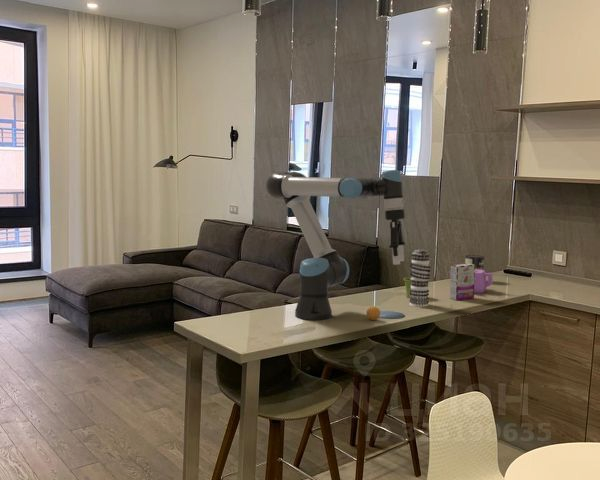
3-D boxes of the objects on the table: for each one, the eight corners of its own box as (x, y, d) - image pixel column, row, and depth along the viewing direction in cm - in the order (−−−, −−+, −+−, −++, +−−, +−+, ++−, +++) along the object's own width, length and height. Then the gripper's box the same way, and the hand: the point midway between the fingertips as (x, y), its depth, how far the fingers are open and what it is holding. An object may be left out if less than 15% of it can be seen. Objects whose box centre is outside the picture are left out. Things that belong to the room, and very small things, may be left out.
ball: (363, 320, 246) (363, 306, 245) (371, 317, 250) (371, 304, 249) (375, 322, 242) (375, 308, 242) (382, 320, 246) (383, 306, 246)
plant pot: (408, 299, 288) (408, 281, 287) (399, 295, 297) (400, 277, 296) (426, 298, 291) (426, 280, 290) (417, 294, 300) (417, 277, 299)
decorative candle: (406, 302, 281) (407, 248, 278) (425, 302, 281) (427, 248, 279) (411, 307, 272) (413, 251, 269) (431, 306, 272) (434, 251, 270)
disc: (367, 315, 254) (367, 314, 254) (384, 310, 264) (384, 309, 264) (394, 320, 246) (394, 319, 246) (410, 314, 256) (410, 314, 256)
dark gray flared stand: (485, 280, 343) (486, 255, 342) (479, 283, 335) (481, 257, 333) (467, 278, 349) (468, 254, 347) (461, 281, 340) (462, 256, 339)
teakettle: (494, 293, 308) (496, 268, 306) (465, 294, 302) (466, 270, 301) (475, 287, 324) (476, 264, 322) (447, 288, 318) (448, 265, 317)
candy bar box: (466, 296, 297) (468, 263, 295) (474, 298, 292) (475, 264, 291) (449, 298, 292) (450, 264, 290) (456, 300, 287) (457, 266, 285)
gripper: (400, 208, 229) (404, 265, 230) (407, 208, 253) (411, 259, 253) (380, 210, 231) (384, 266, 232) (389, 209, 255) (393, 260, 256)
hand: (398, 262), depth 243 cm, fingers open, 13 cm apart
